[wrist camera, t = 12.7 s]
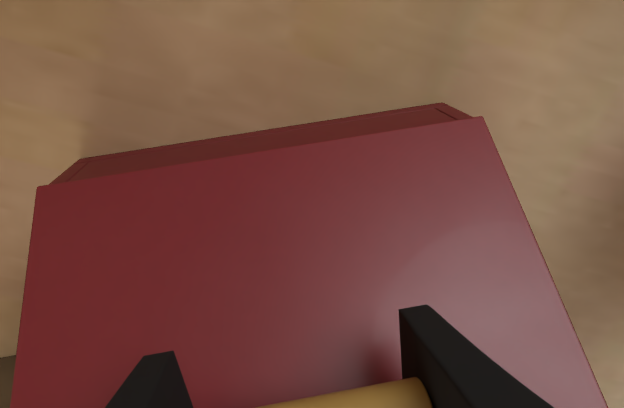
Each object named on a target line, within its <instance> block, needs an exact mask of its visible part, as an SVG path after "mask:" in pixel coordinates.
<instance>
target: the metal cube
mask: <svg viewBox="0 0 624 408" xmlns="http://www.w3.org/2000/svg"><path fill="white" fill-rule="evenodd" d="M15 361H16V355H15V356H9V357H4V358H0V408H10V401H11V393H12V385H13V377H14V369H15Z"/></svg>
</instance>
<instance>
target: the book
mask: <svg viewBox="0 0 624 408" xmlns="http://www.w3.org/2000/svg"><path fill="white" fill-rule="evenodd" d="M466 118H473V117H472V116H469V115H467V114H465V113H463V112H461V111H459V110H457V109H455V108H453V107H451V106H448V105H447V104H445V103H436V104H429V105H423V106H416V107H410V108H404V109H397V110H391V111H384V112H378V113H372V114H365V115H359V116H352V117H346V118H340V119H333V120H327V121H320V122H314V123H308V124H301V125H295V126H288V127H282V128H275V129H269V130H263V131H256V132H250V133H243V134H237V135H231V136H224V137H218V138H211V139H205V140H199V141H192V142H186V143H179V144H173V145H166V146H160V147H154V148H147V149H141V150H134V151H128V152H122V153H115V154H109V155H102V156H96V157H90V158H83V159H79V160H78V161H77V162H75V163H74V164H73V165H72V166H71V167H69V168H68V169H67V170H66V171H64V172H63V173H62V174H61V175H60V176H58V177H57V178H56V179H55V180H54V181H52V182H51V183H50V184H57V183H63V182H69V181H76V180H82V179H88V178H95V177H101V176H107V175H113V174H120V173H126V172H132V171H139V170H145V169H151V168H158V167H164V166H170V165H177V164H183V163H189V162H195V161H202V160H208V159H214V158H221V157H227V156H233V155H240V154H246V153H252V152H258V151H265V150H271V149H277V148H284V147H290V146H296V145H303V144H309V143H315V142H322V141H328V140H334V139H340V138H347V137H353V136H359V135H366V134H372V133H378V132H385V131H391V130H397V129H403V128H410V127H416V126H422V125H429V124H435V123H441V122H448V121H454V120H460V119H466ZM50 184H49V185H50Z"/></svg>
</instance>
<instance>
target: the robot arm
mask: <svg viewBox="0 0 624 408" xmlns="http://www.w3.org/2000/svg"><path fill="white" fill-rule="evenodd" d="M399 328H400V346H401V365H402V379H407V378H412V377H417V378H419V379H420V380H421V382H422V383H423V385H424V387H425V388H426V390H427V393H428V395H429V397H430V400H431V403H432V406H433V408H554V407H553V406H552V405H550V404H549V403H548V402H546V401H545V400H543V399H542V398H541V397H539V396H538V395H537V394H535V393H534V392H533V391H531V390H530V389H529V388H527V387H526V386H525V385H523V384H522V383H521V382H519V381H518V380H517V379H516V378H514V377H513V376H512V375H511V374H509V373H508V372H507V371H506V370H504V369H503V368H502V367H501V366H499V365H498V364H497V363H496V362H494V361H493V360H492V359H491V358H489V357H488V356H487V355H486V354H485V353H483V352H482V351H481V350H480V349H479V348H477V347H476V346H475V345H474V344H473V343H471V342H470V341H469V340H468V339H467V338H466V337H464V336H463V335H462V334H461V333H460V332H459V331H458V330H456V329H455V328H454V327H453V326H452V325H451V324H450V323H448V322H447V321H446V320H445V319H444V318H443V317H442V316H441V315H439V314H438V313H437V312H436V311H435V310H434V309H433V308H431V307H430V306H429V305H427V304H425V305H420V306H414V307H409V308H403V309H399ZM105 408H193V405H192V402H191V399H190V396H189V393H188V390H187V388H186V385H185V382H184V379H183V376H182V373H181V370H180V367H179V365H178V362H177V359H176V356H175V353H174V350H173V351H167V352H162V353H156V354H151V355H145V356H143V357H142V359H141V360H140V361H139V362H138V364H137V365H136V366H135V368H134V369H133V370H132V372H131V373H130V374H129V376H128V377H127V378H126V380H125V381H124V382H123V384H122V385H121V386H120V388H119V389H118V390H117V392H116V393H115V395H114V396H113V397H112V399H111V400H110V401H109V403H108V404H107V405H106V407H105Z"/></svg>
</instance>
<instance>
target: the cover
mask: <svg viewBox="0 0 624 408" xmlns="http://www.w3.org/2000/svg"><path fill="white" fill-rule="evenodd" d="M425 304H427V305H429V306H430V307H431V308H433V309H434V310H435V311H436V312H437V313H438V314H439V315H441V316H442V317H443V318H444V319H445V320H446V321H447V322H448V323H450V324H451V325H452V326H453V327H454V328H455V329H456V330H458V331H459V332H460V333H461V334H462V335H463V336H464V337H466V338H467V339H468V340H469V341H470V342H471V343H473V344H474V345H475V346H476V347H477V348H479V349H480V350H481V351H482V352H483V353H485V354H486V355H487V356H488V357H489V358H491V359H492V360H493V361H494V362H496V363H497V364H498V365H499V366H501V367H502V368H503V369H504V370H506V371H507V372H508V373H509V374H511V375H512V376H513V377H514V378H516V379H517V380H518V381H519V382H521V383H522V384H523V385H525V386H526V387H527V388H529V389H530V390H531V391H533V392H534V393H535V394H537V395H538V396H539V397H541V398H542V399H543V400H545V401H546V402H548V403H549V404H550V405H552V406H553V407H554V408H608V406H607V404H606V401H605V399H604V397H603V395H602V392H601V390H600V388H599V385H598V383H597V381H596V378H595V376H594V374H593V371H592V369H591V367H590V364H589V362H588V360H587V357H586V355H585V353H584V350H583V348H582V346H581V343H580V341H579V339H578V337H577V334H576V332H575V330H574V327H573V325H572V323H571V320H570V318H569V316H568V313H567V311H566V309H565V306H564V304H563V302H562V299H561V297H560V295H559V292H558V290H557V288H556V285H555V283H554V281H553V279H552V276H551V274H550V272H549V269H548V267H547V265H546V262H545V260H544V258H543V255H542V253H541V251H540V248H539V246H538V244H537V241H536V239H535V237H534V234H533V232H532V230H531V228H530V225H529V223H528V221H527V218H526V216H525V214H524V211H523V209H522V207H521V204H520V202H519V200H518V197H517V195H516V193H515V190H514V188H513V186H512V183H511V181H510V179H509V176H508V174H507V172H506V170H505V167H504V165H503V163H502V160H501V158H500V156H499V153H498V151H497V149H496V146H495V144H494V142H493V139H492V137H491V135H490V132H489V130H488V128H487V125H486V123H485V121H484V119H483V117H482V116H479V117H473V118H466V119H460V120H454V121H448V122H441V123H435V124H429V125H422V126H416V127H410V128H403V129H397V130H391V131H385V132H378V133H372V134H366V135H359V136H353V137H347V138H340V139H334V140H328V141H322V142H315V143H309V144H303V145H296V146H290V147H284V148H277V149H271V150H265V151H258V152H252V153H246V154H240V155H233V156H227V157H221V158H214V159H208V160H202V161H195V162H189V163H183V164H177V165H170V166H164V167H158V168H151V169H145V170H139V171H132V172H126V173H120V174H113V175H107V176H101V177H95V178H88V179H82V180H76V181H69V182H63V183H57V184H50V185H44V186H38V187H37V190H36V198H35V207H34V215H33V223H32V231H31V239H30V247H29V255H28V263H27V271H26V280H25V288H24V296H23V304H22V312H21V320H20V328H19V336H18V345H17V353H16V361H15V369H14V377H13V385H12V393H11V401H10V408H105V407H106V405H107V404H108V403H109V401H110V400H111V399H112V397H113V396H114V395H115V393H116V392H117V390H118V389H119V388H120V386H121V385H122V384H123V382H124V381H125V380H126V378H127V377H128V376H129V374H130V373H131V372H132V370H133V369H134V368H135V366H136V365H137V364H138V362H139V361H140V360H141V359H142V357H143V356H145V355H151V354H156V353H162V352H167V351H173V350H174V353H175V356H176V359H177V362H178V365H179V367H180V370H181V373H182V376H183V379H184V382H185V385H186V388H187V390H188V393H189V396H190V399H191V402H192V405H193V408H433V406H432V403H431V400H430V397H429V395H428V393H427V390H426V388H425V387H424V385H423V383H422V382H421V380H420V379H419V378H417V377H412V378H407V379H402V365H401V346H400V328H399V309H403V308H409V307H414V306H420V305H425Z"/></svg>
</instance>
